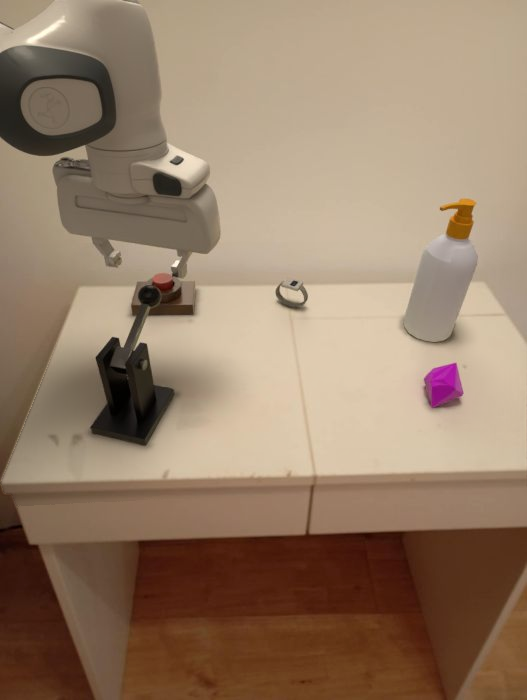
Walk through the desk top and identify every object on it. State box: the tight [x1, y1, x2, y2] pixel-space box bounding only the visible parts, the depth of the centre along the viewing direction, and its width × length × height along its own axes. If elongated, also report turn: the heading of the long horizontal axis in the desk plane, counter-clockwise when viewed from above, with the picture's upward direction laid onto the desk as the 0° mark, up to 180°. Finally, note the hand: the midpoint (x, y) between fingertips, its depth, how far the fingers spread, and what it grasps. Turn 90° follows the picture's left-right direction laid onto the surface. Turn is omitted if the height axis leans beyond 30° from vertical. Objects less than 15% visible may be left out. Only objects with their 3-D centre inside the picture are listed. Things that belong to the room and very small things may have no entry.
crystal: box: [423, 362, 464, 409], centre depth 71 cm, size 5×5×5 cm
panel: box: [130, 277, 197, 316], centre depth 88 cm, size 11×8×4 cm
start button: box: [151, 272, 173, 291], centre depth 86 cm, size 4×4×2 cm
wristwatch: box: [275, 277, 309, 309], centre depth 88 cm, size 6×3×5 cm, turn 64°
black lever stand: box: [90, 336, 175, 446], centre depth 64 cm, size 10×8×12 cm
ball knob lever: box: [109, 285, 161, 375], centre depth 63 cm, size 13×3×3 cm, turn 166°
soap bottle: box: [403, 198, 479, 343], centre depth 78 cm, size 9×9×24 cm
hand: (146, 270), depth 63 cm, fingers open, 8 cm apart
